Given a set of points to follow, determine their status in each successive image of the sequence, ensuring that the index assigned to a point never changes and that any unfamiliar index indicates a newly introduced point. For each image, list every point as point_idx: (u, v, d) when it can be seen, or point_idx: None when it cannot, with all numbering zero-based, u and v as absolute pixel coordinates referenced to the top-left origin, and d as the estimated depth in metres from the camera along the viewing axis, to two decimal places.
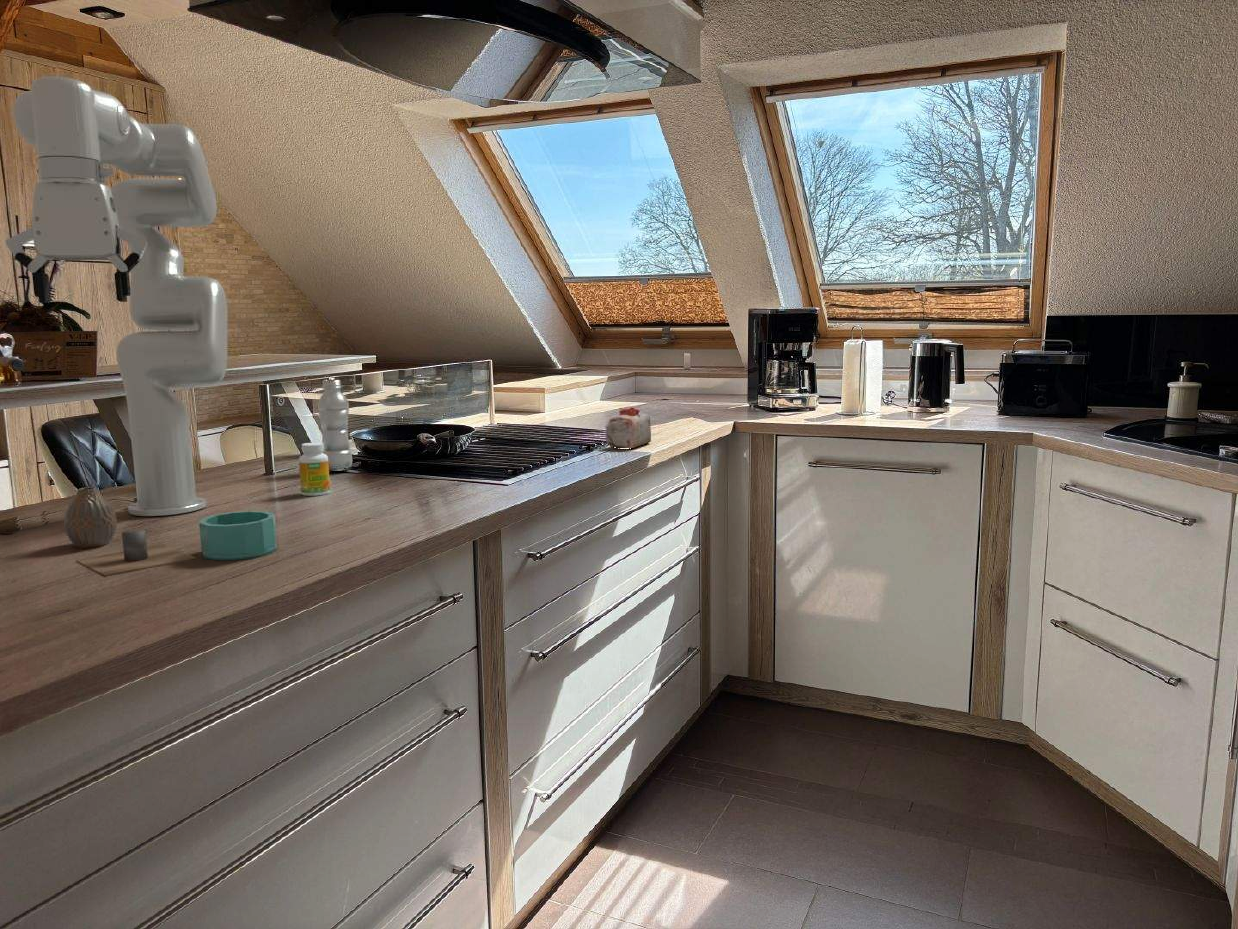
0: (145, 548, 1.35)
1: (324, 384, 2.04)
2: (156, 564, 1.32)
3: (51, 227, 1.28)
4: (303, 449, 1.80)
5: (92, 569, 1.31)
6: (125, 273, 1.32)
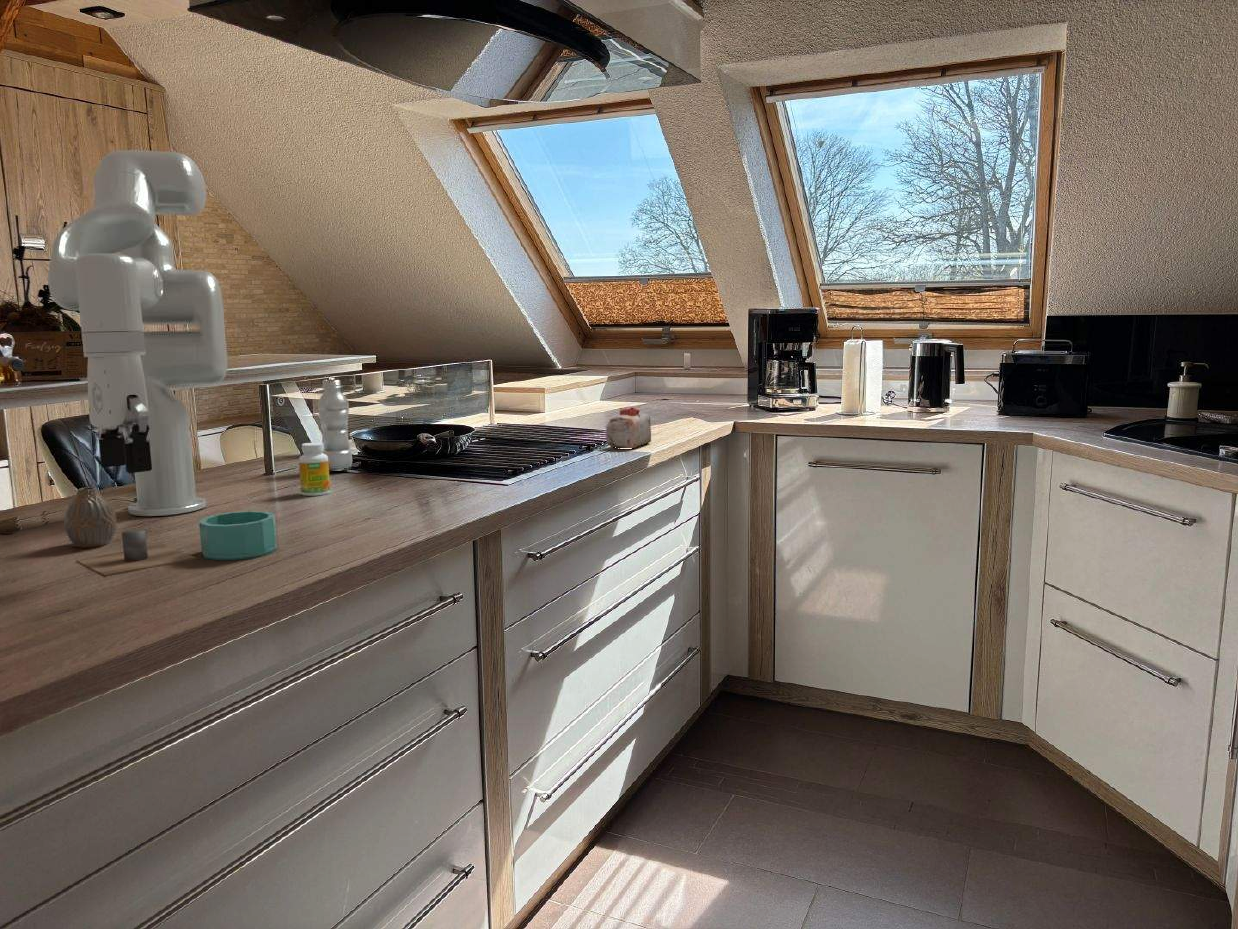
0: (145, 548, 1.35)
1: (324, 384, 2.04)
2: (156, 564, 1.32)
3: None
4: (303, 449, 1.80)
5: (92, 569, 1.31)
6: None
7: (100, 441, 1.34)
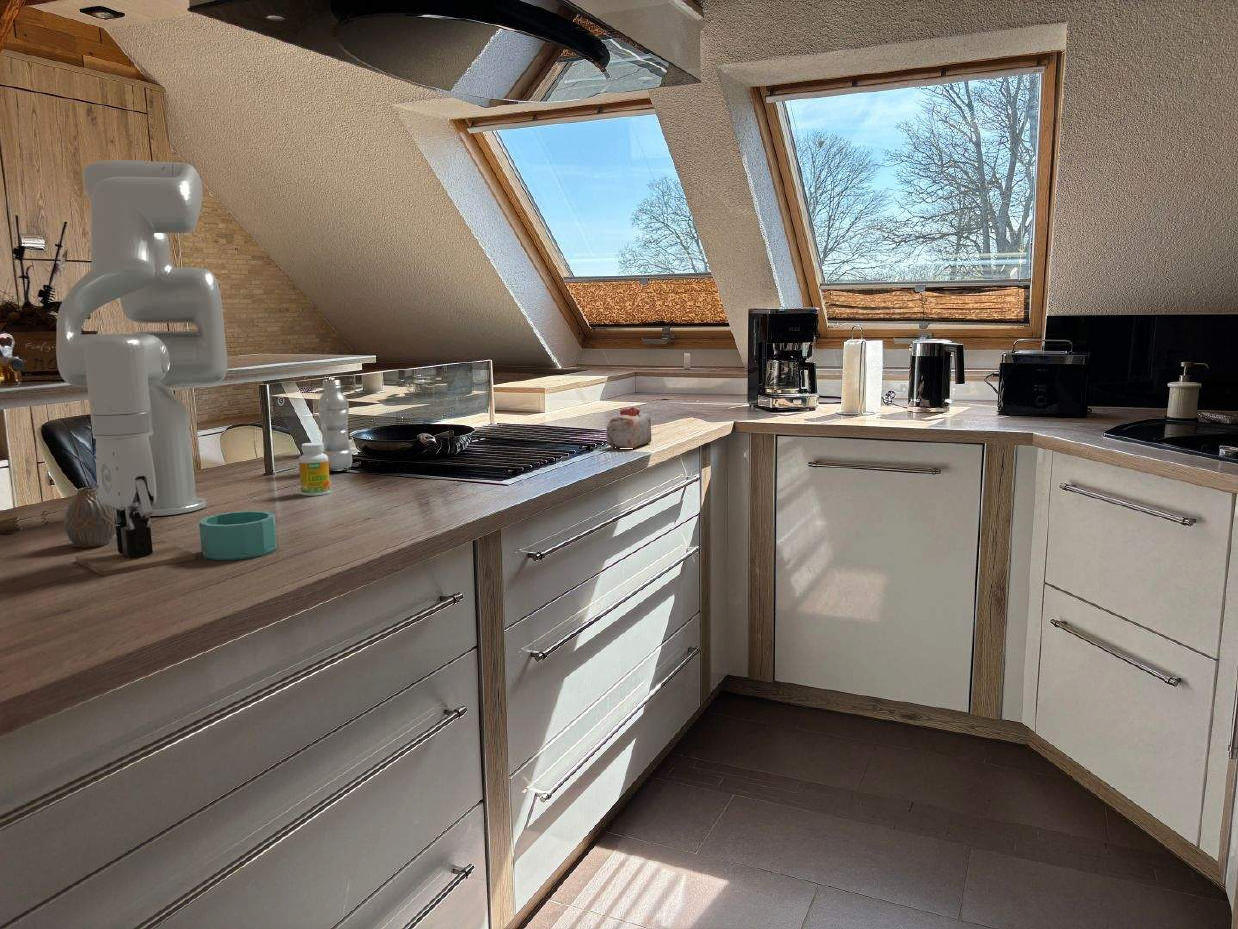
0: None
1: (324, 384, 2.04)
2: (155, 560, 1.32)
3: None
4: (303, 449, 1.80)
5: (91, 565, 1.31)
6: None
7: (117, 528, 1.35)
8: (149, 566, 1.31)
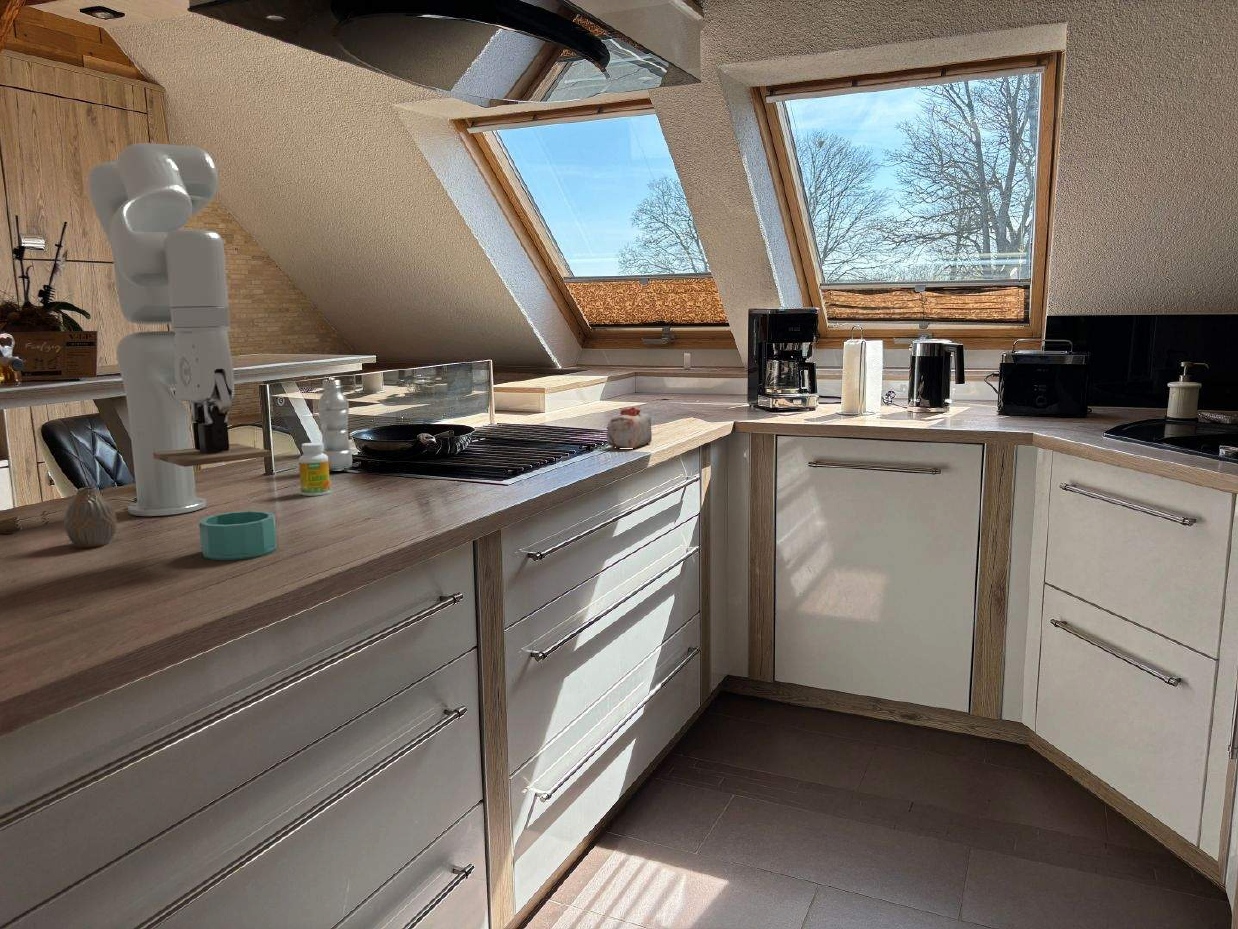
0: None
1: (324, 384, 2.04)
2: (232, 454, 1.33)
3: None
4: (303, 449, 1.80)
5: (170, 458, 1.31)
6: None
7: (194, 424, 1.35)
8: (227, 459, 1.32)
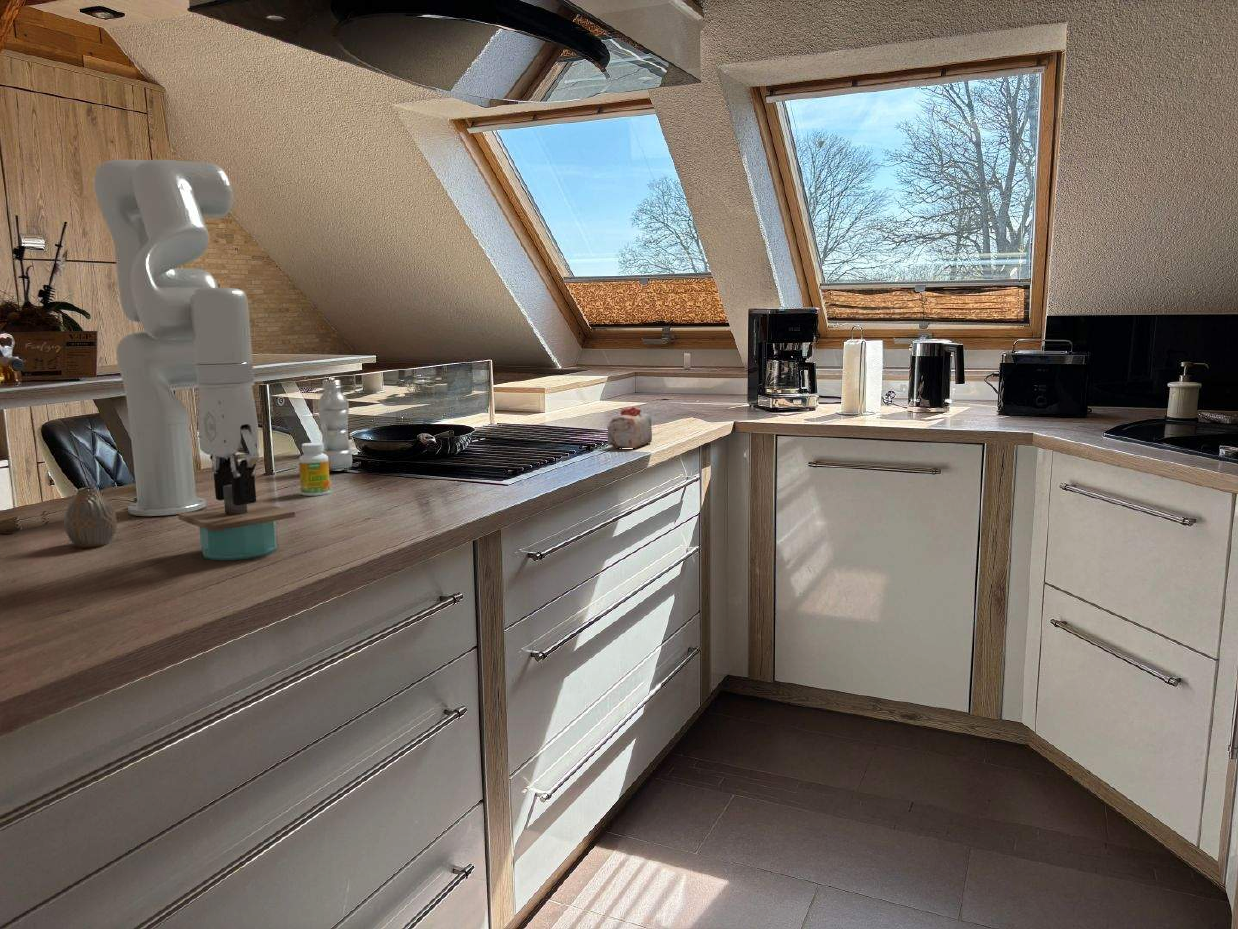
0: None
1: (324, 384, 2.04)
2: (258, 517, 1.35)
3: None
4: (303, 449, 1.80)
5: (196, 521, 1.34)
6: None
7: (215, 475, 1.38)
8: (253, 522, 1.34)
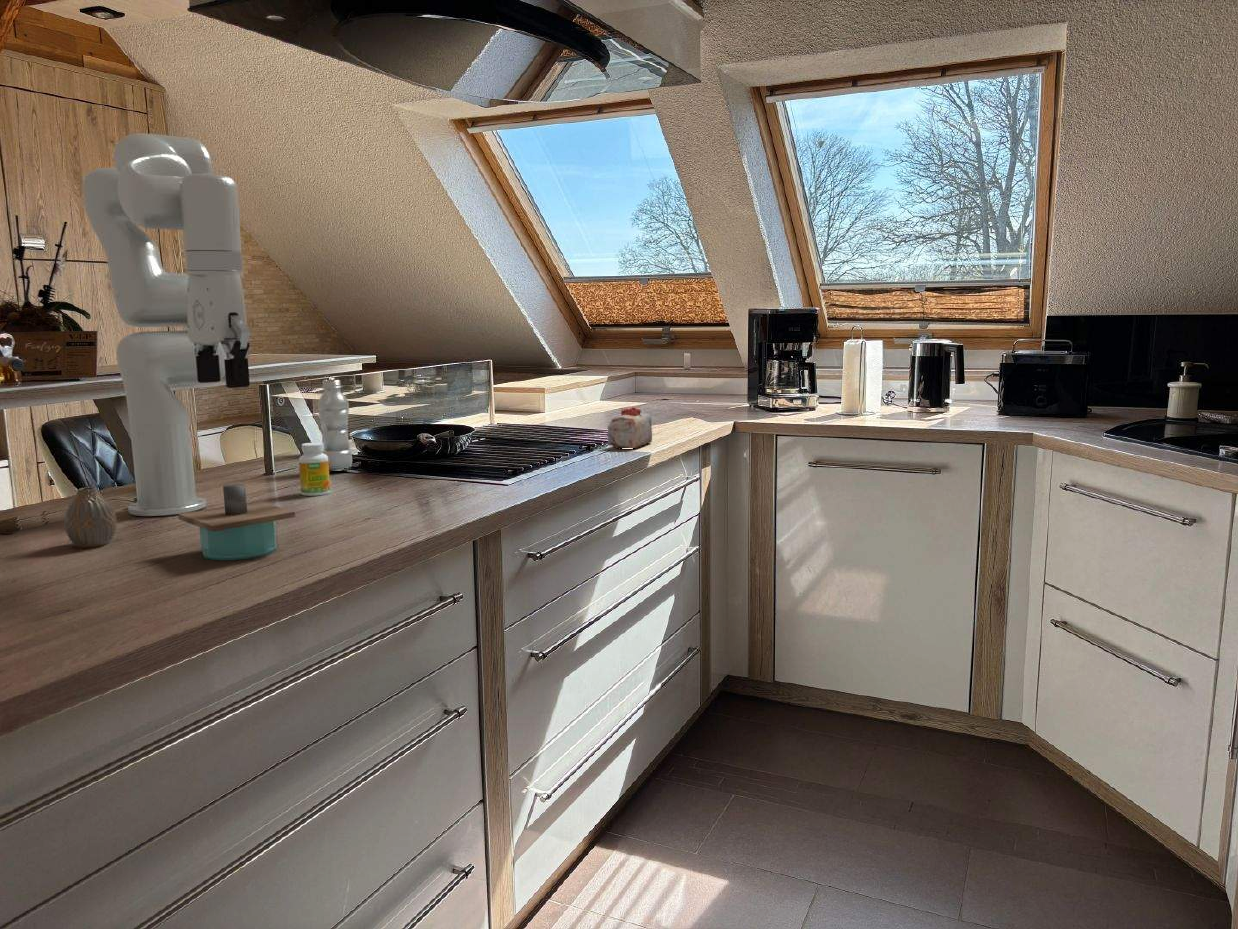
0: (245, 502, 1.38)
1: (324, 384, 2.04)
2: (258, 517, 1.35)
3: None
4: (303, 449, 1.80)
5: (196, 521, 1.34)
6: None
7: (197, 357, 1.40)
8: (253, 522, 1.34)
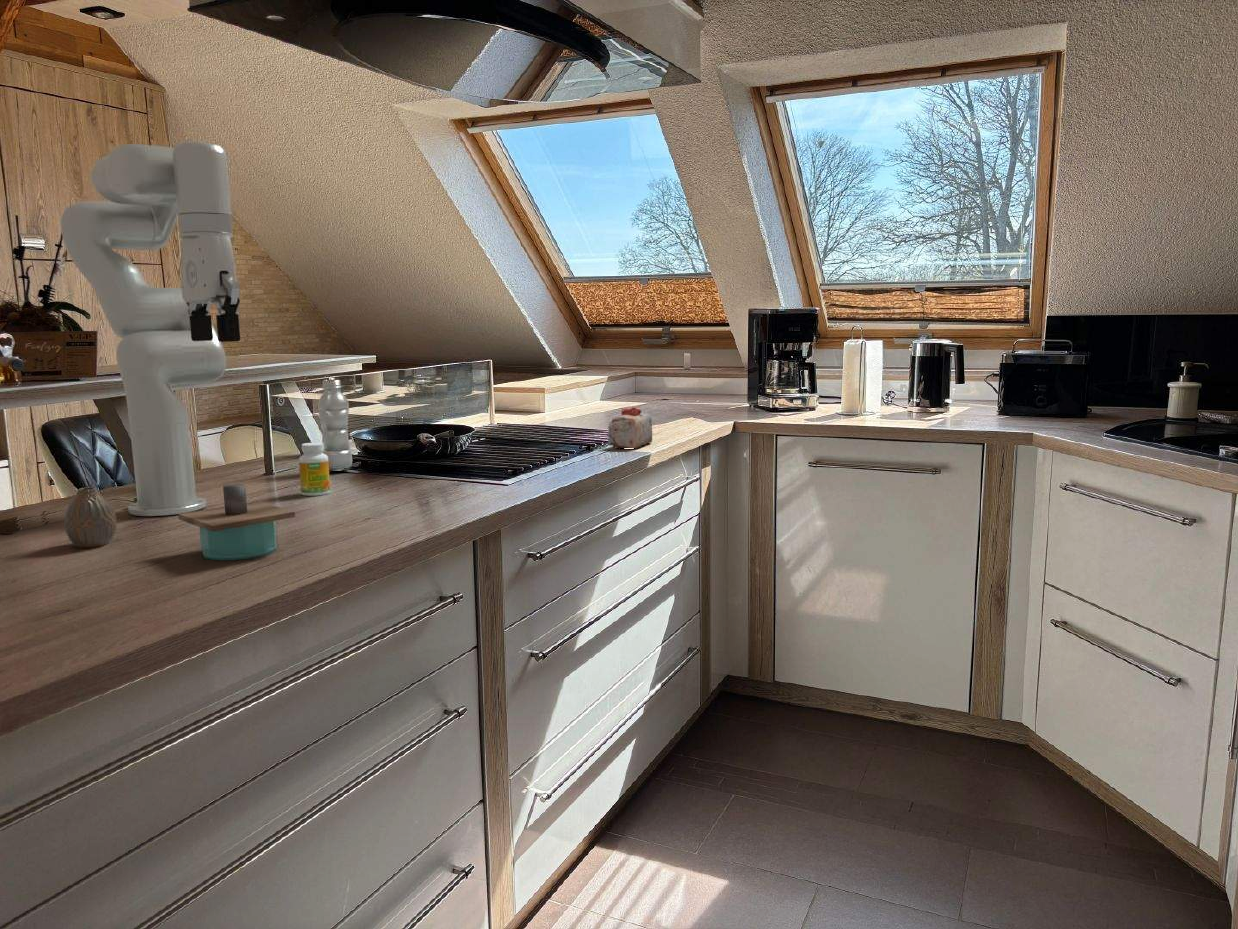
0: (245, 502, 1.38)
1: (324, 384, 2.04)
2: (258, 517, 1.35)
3: None
4: (303, 449, 1.80)
5: (196, 521, 1.34)
6: None
7: (191, 317, 1.49)
8: (253, 522, 1.34)
